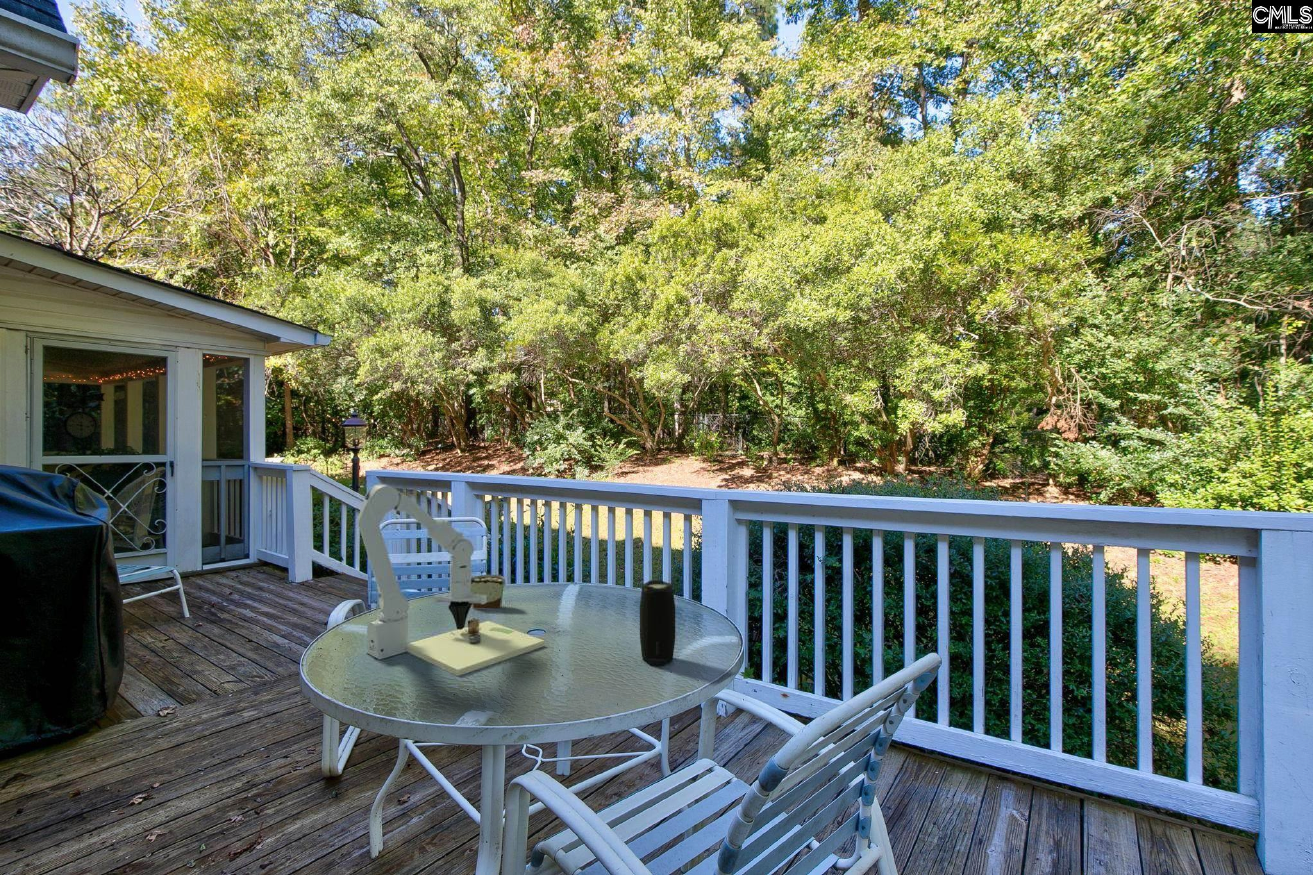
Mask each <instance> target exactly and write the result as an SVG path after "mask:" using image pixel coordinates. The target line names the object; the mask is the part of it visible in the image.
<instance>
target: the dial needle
mask: <svg viewBox="0 0 1313 875" xmlns="http://www.w3.org/2000/svg"><path fill="white" fill-rule="evenodd" d="M479 624H480V619H478V618H474V619H473V618H472V619H469V620H468V621H467V627H468V633H469V634H472V635H471V636H469V643H479V642H481V635H479V634H476V633H478V632H479Z"/></svg>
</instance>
